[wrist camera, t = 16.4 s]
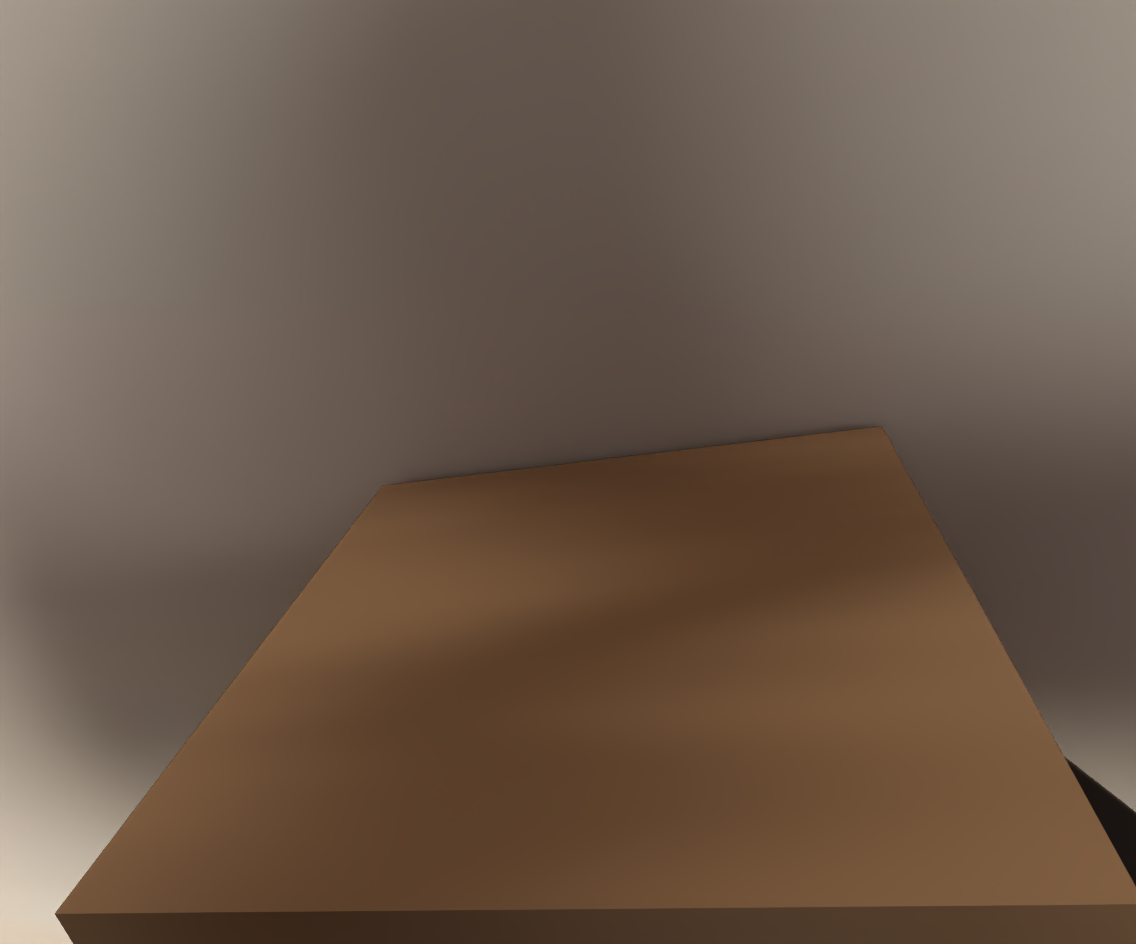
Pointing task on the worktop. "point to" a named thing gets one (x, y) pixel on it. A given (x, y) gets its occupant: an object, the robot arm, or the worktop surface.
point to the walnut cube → (625, 730)
